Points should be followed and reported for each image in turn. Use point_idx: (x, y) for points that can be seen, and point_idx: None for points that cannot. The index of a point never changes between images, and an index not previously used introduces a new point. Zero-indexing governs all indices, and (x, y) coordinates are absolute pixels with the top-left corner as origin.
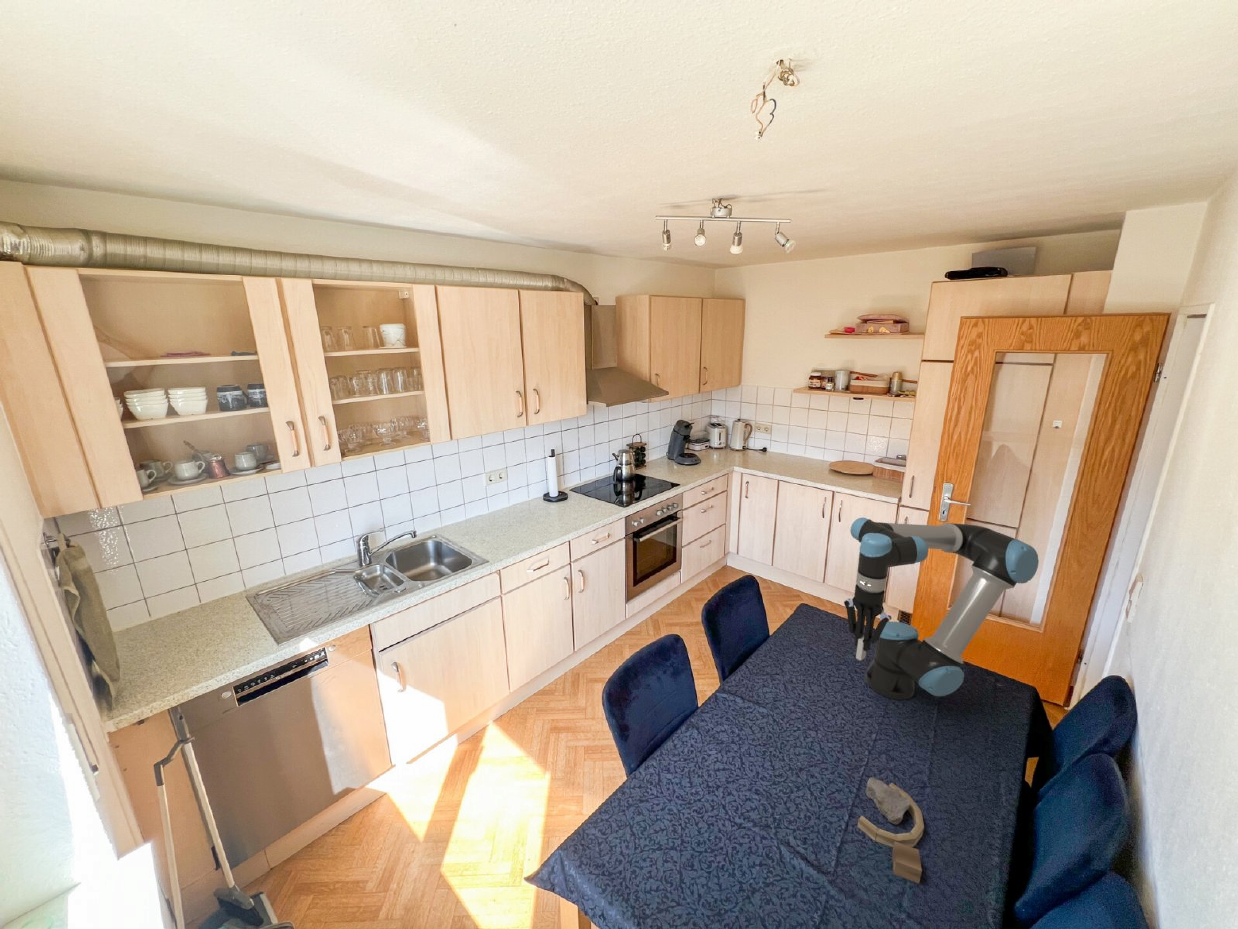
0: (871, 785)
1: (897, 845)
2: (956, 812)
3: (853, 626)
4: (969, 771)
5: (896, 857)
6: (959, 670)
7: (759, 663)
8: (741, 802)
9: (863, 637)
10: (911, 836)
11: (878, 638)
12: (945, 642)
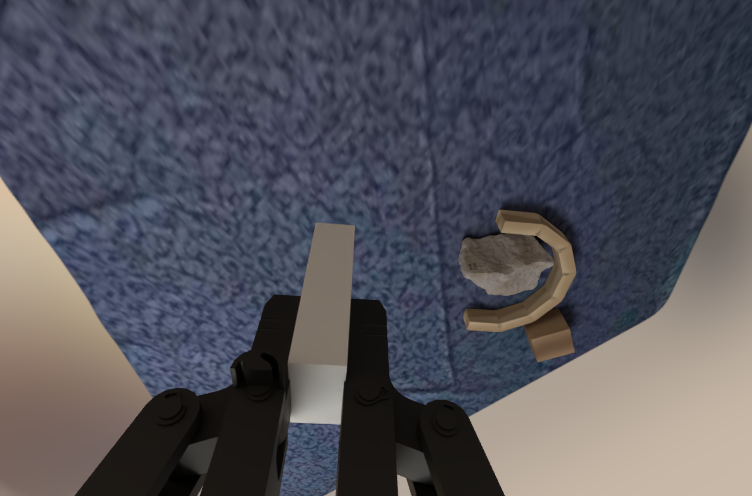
0: (474, 282)
1: (536, 342)
2: (640, 161)
3: (139, 448)
4: None
5: (537, 357)
6: None
7: None
8: None
9: (307, 381)
10: (554, 302)
11: (476, 454)
12: None
